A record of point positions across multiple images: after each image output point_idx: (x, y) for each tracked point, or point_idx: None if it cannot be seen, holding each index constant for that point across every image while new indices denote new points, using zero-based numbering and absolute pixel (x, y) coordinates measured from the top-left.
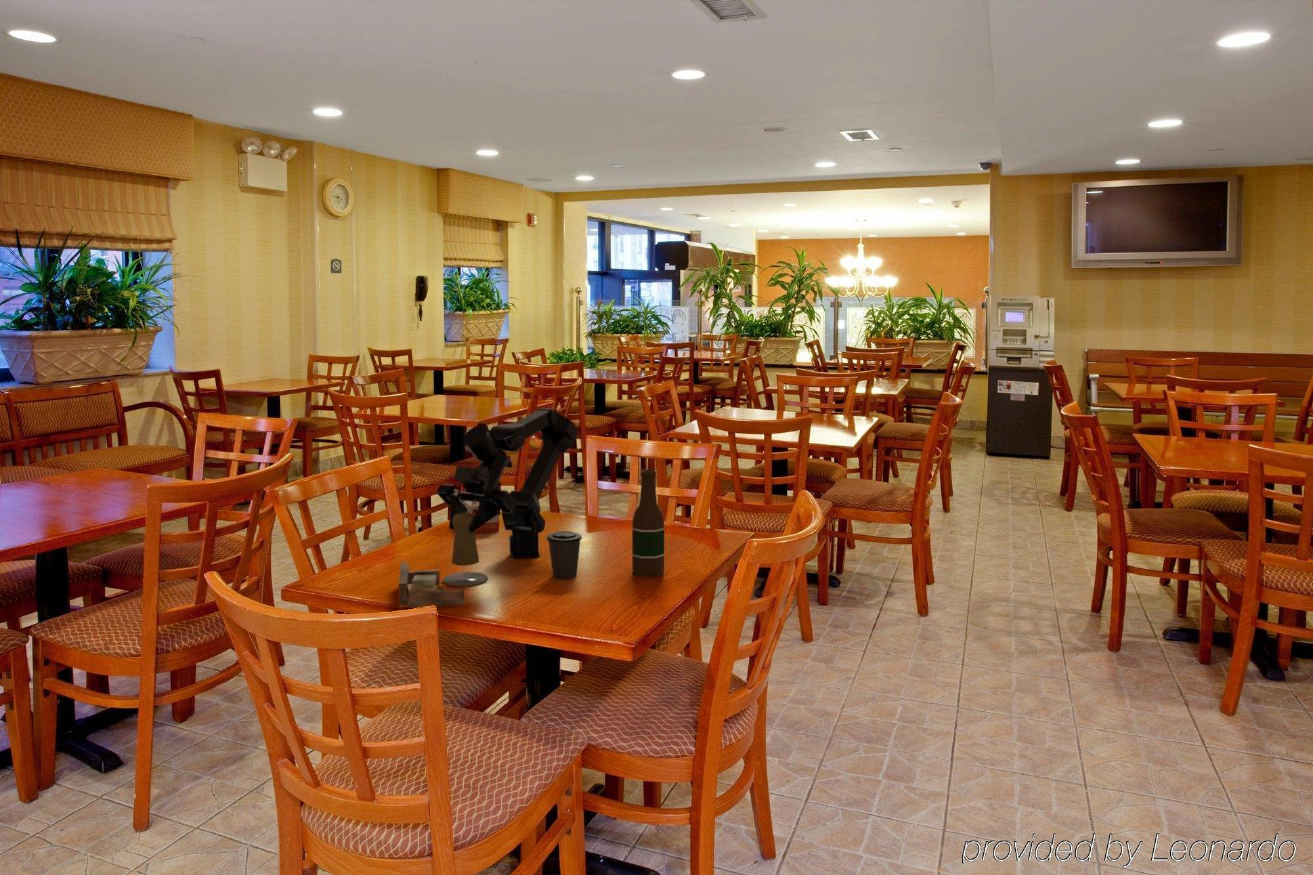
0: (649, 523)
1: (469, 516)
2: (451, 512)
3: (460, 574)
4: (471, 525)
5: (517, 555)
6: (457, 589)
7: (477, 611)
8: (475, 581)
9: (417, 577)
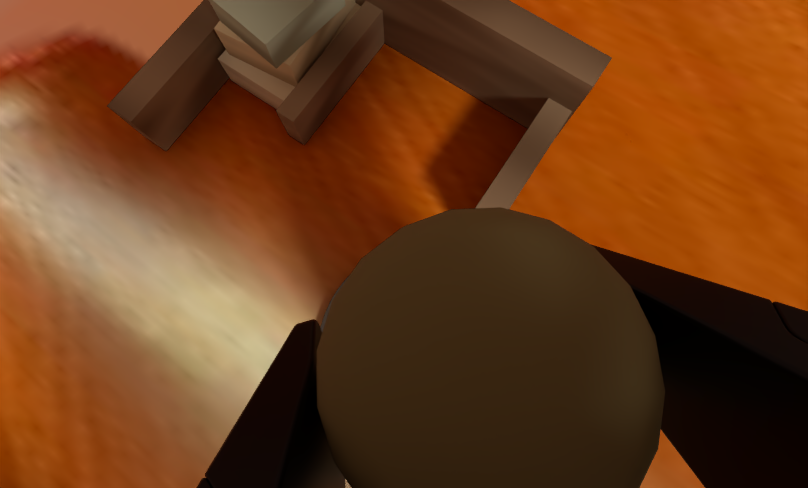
0: None
1: (351, 381)
2: (773, 311)
3: None
4: (299, 353)
5: None
6: (150, 98)
7: (48, 127)
8: None
9: None
